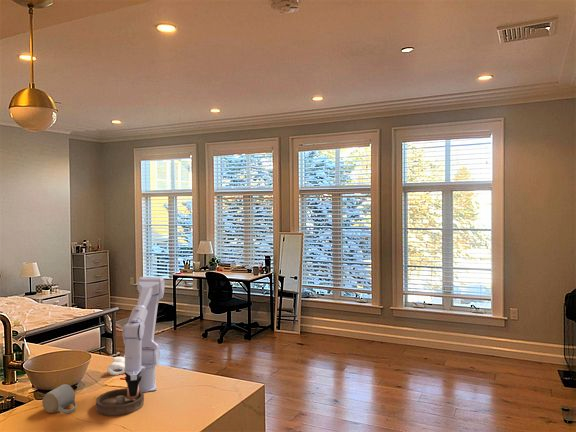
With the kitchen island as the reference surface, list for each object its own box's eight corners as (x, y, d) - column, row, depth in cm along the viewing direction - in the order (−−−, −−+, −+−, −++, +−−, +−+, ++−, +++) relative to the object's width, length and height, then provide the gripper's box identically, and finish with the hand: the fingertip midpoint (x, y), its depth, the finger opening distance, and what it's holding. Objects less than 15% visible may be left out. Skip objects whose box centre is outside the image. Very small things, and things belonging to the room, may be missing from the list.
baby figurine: (108, 378, 187) (102, 359, 191) (119, 379, 199) (114, 362, 202) (127, 368, 188) (120, 350, 192) (137, 370, 200) (131, 352, 203)
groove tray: (96, 400, 164) (97, 391, 164) (142, 394, 170) (142, 386, 170) (95, 419, 150) (95, 409, 150) (144, 412, 155) (144, 402, 155)
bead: (127, 395, 163) (127, 382, 163) (138, 394, 164) (138, 380, 164) (126, 400, 159) (127, 386, 159) (138, 398, 160) (138, 384, 160)
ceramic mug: (40, 412, 154) (40, 390, 154) (58, 403, 162) (59, 382, 162) (64, 417, 151) (64, 395, 151) (82, 407, 159) (82, 386, 158)
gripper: (146, 360, 156) (145, 399, 156) (143, 349, 170) (143, 384, 170) (124, 363, 154) (124, 402, 154) (123, 351, 167) (123, 387, 167)
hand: (132, 393), depth 161 cm, fingers closed on bead, 4 cm apart
